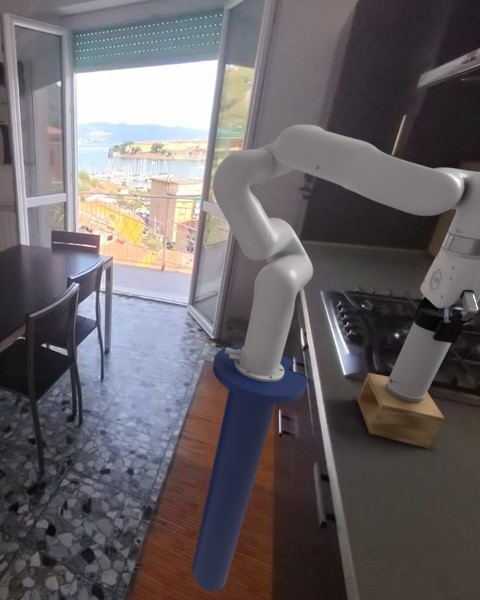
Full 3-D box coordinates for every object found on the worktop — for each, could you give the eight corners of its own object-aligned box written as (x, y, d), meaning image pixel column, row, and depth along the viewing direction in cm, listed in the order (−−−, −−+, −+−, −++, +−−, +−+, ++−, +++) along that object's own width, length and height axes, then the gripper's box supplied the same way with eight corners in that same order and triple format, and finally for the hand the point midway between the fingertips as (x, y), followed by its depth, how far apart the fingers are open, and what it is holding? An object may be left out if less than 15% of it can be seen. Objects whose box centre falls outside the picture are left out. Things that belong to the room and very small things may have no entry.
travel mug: (381, 393, 77) (417, 311, 69) (388, 380, 81) (423, 301, 73) (419, 408, 73) (462, 322, 64) (424, 394, 77) (466, 311, 68)
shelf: (369, 433, 77) (382, 404, 74) (357, 399, 87) (367, 372, 84) (428, 448, 74) (445, 418, 70) (408, 411, 84) (421, 383, 80)
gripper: (426, 232, 72) (395, 308, 79) (467, 257, 57) (425, 346, 65) (475, 235, 69) (438, 314, 76) (532, 262, 55) (480, 356, 62)
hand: (432, 329), depth 70 cm, fingers open, 9 cm apart
